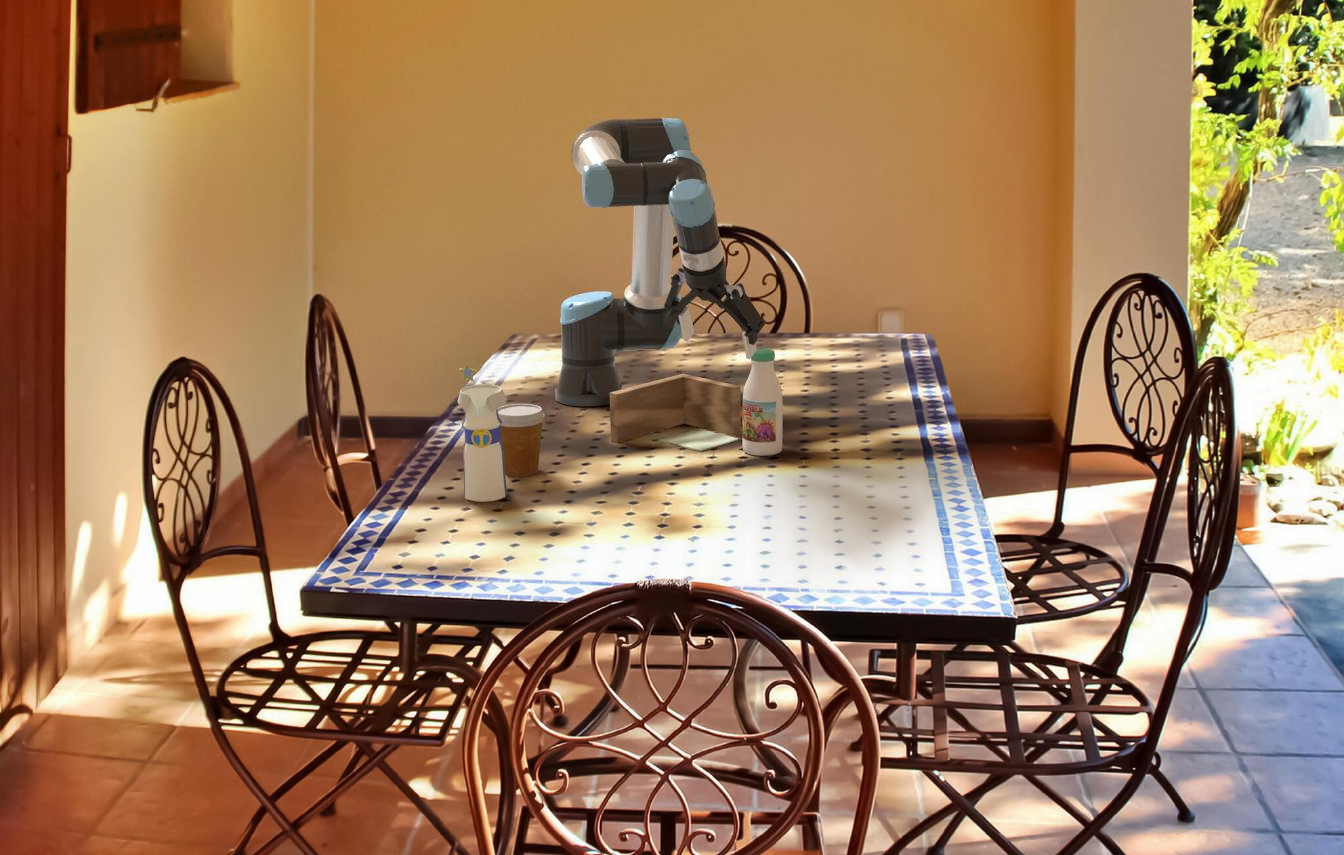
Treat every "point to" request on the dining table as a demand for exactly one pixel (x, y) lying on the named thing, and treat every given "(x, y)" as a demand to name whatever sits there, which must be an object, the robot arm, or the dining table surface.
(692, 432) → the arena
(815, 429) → the dining table surface
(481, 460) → the white tall bottle shape
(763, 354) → the milk bottle
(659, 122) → the robot arm
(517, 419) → the disposable coffee cup
